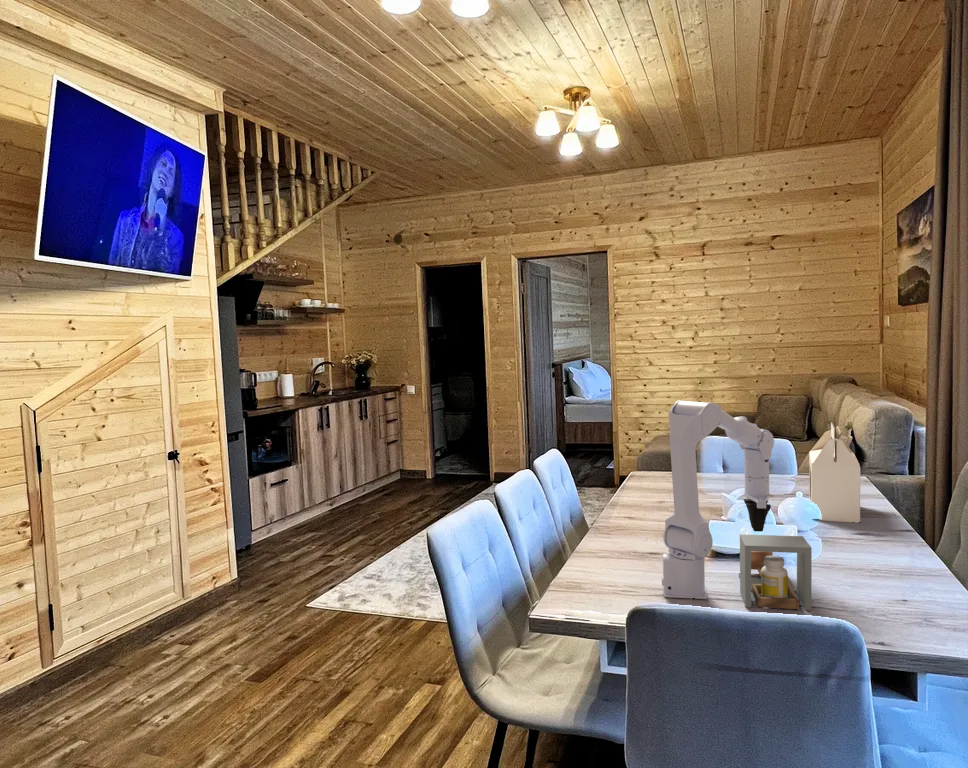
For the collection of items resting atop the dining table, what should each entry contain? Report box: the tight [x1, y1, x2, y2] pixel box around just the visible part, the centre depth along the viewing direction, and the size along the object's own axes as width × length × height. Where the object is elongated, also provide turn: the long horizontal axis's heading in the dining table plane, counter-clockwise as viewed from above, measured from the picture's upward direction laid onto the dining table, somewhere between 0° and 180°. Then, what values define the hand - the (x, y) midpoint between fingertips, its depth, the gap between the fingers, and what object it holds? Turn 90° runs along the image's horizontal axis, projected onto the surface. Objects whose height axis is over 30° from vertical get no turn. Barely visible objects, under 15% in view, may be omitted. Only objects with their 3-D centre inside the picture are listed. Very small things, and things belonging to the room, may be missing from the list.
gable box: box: [808, 421, 861, 524], centre depth 216 cm, size 22×13×28 cm, turn 156°
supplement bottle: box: [760, 555, 789, 598], centre depth 150 cm, size 5×5×10 cm
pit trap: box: [738, 572, 797, 595], centre depth 160 cm, size 11×10×1 cm
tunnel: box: [739, 533, 813, 612], centre depth 150 cm, size 13×8×14 cm, turn 77°
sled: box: [751, 551, 800, 610], centre depth 157 cm, size 8×22×5 cm, turn 167°
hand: (757, 529), depth 172 cm, fingers open, 2 cm apart
